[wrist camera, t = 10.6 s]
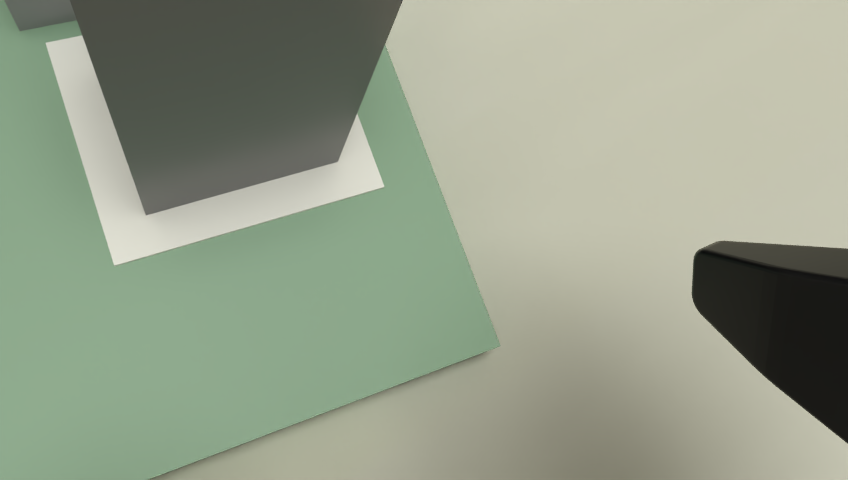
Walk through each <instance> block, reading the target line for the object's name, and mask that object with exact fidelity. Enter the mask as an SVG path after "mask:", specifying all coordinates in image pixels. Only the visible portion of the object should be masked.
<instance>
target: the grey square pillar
mask: <svg viewBox="0 0 848 480" xmlns="http://www.w3.org/2000/svg"><path fill="white" fill-rule="evenodd" d="M402 1H403V0H70V2H71V5H72V8H73V11H74V14H75V16H76V19H77V22H78V25H79V28H80V31H81V33H82V36H83V39H84V42H85V45H86V47H87V50H88V53H89V56H90V59H91V62H92V64H93V67H94V70H95V73H96V76H97V79H98V81H99V84H100V87H101V90H102V93H103V96H104V98H105V101H106V104H107V107H108V110H109V112H110V115H111V118H112V121H113V124H114V127H115V129H116V132H117V135H118V138H119V141H120V144H121V146H122V149H123V152H124V155H125V158H126V161H127V163H128V166H129V169H130V172H131V175H132V178H133V180H134V183H135V186H136V189H137V192H138V194H139V197H140V200H141V203H142V206H143V209H144V211H145V214H146V215H149V214H153V213H157V212H160V211H164V210H167V209H171V208H174V207H178V206H182V205H185V204H189V203H192V202H196V201H199V200H203V199H207V198H210V197H214V196H217V195H221V194H224V193H228V192H232V191H235V190H239V189H242V188H246V187H250V186H253V185H257V184H260V183H264V182H267V181H271V180H275V179H278V178H282V177H285V176H289V175H292V174H296V173H300V172H303V171H307V170H310V169H314V168H317V167H321V166H325V165H328V164H332V163H335V162H338V160H339V157H340V155H341V153H342V150H343V148H344V145H345V143H346V140H347V138H348V135H349V133H350V130H351V128H352V125H353V123H354V120H355V118H356V115H357V113H358V110H359V108H360V105H361V103H362V100H363V98H364V95H365V93H366V90H367V88H368V85H369V83H370V80H371V78H372V75H373V73H374V70H375V68H376V65H377V63H378V60H379V58H380V55H381V53H382V50H383V48H384V45H385V43H386V40H387V38H388V35H389V33H390V30H391V28H392V25H393V23H394V20H395V18H396V16H397V13H398V11H399V8H400V6H401V3H402Z"/></svg>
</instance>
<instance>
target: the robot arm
mask: <svg viewBox="0 0 848 480" xmlns="http://www.w3.org/2000/svg"><path fill="white" fill-rule="evenodd" d="M692 298H693V302H694V304H695V306H696V308H697V310H698V311H699V312H700V314H701V315H702V316H703V317H704V318H705V319H706V320H707V321H708V322H709V323H710V324H711V325H712V326H713V327H714V328H715V329H716V330H717V331H718V332H719V333H720V334H721V335H722V336H723V337H724V338H726V339H727V340H728V341H729V342H730V343H731V344H732V345H733V346H734V347H735V348H736V349H737V350H738V351H739V352H740V353H741V354H742V355H743V356H744V357H745V358H746V359H747V360H748V361H749V362H750V363H751V364H752V365H753V366H754V367H755V368H756V369H757V370H758V371H759V372H760V373H761V374H762V375H764V376H765V377H766V378H767V379H768V380H769V381H770V382H772V383H773V384H774V385H775V386H776V387H778V388H779V389H780V390H781V391H783V392H784V393H785V394H786V395H788V396H789V397H790V398H791V399H793V400H794V401H795V402H796V403H798V404H799V405H800V406H801V407H803V408H804V409H805V410H806V411H808V412H809V413H810V414H811V415H813V416H814V417H815V418H816V419H818V420H819V421H820V422H821V423H823V424H824V425H825V426H826V427H828V428H829V429H830V430H831V431H833V432H834V433H835V434H836V435H838V436H839V437H840V438H841V439H843V440H844V441H845V442H846V443H848V249H844V248H828V247H812V246H796V245H781V244H765V243H749V242H733V241H718V242H715V243H713V244H711V245H708V246H706V247H704V248H701V249H699V250H698V251H697V252H696V254H695V256H694V261H693V280H692Z"/></svg>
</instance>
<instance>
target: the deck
mask: <svg viewBox="0 0 848 480" xmlns="http://www.w3.org/2000/svg"><path fill="white" fill-rule="evenodd" d="M499 346H500V343H499V341H498V338H497V336H496V333H495V330H494V328H493V325H492V323H491V320H490V317H489V315H488V312H487V310H486V307H485V304H484V302H483V299H482V296H481V294H480V291H479V289H478V286H477V283H476V281H475V278H474V276H473V273H472V270H471V268H470V265H469V263H468V260H467V257H466V255H465V252H464V249H463V247H462V244H461V242H460V239H459V236H458V234H457V231H456V229H455V226H454V223H453V221H452V218H451V215H450V213H449V210H448V208H447V205H446V202H445V200H444V197H443V195H442V192H441V189H440V187H439V184H438V182H437V179H436V176H435V174H434V171H433V168H432V166H431V163H430V161H429V158H428V155H427V153H426V150H425V148H424V145H423V142H422V140H421V137H420V135H419V132H418V129H417V127H416V124H415V121H414V119H413V116H412V114H411V111H410V108H409V106H408V103H407V101H406V98H405V95H404V93H403V90H402V88H401V85H400V82H399V80H398V77H397V74H396V72H395V69H394V67H393V64H392V61H391V59H390V56H389V54H388V51H387V48H386V46H385V45H384V48H383V50H382V53H381V55H380V58H379V60H378V63H377V65H376V68H375V70H374V73H373V75H372V78H371V80H370V83H369V85H368V88H367V90H366V93H365V95H364V98H363V100H362V103H361V105H360V108H359V110H358V113H357V115H356V118H355V120H354V123H353V125H352V128H351V130H350V133H349V135H348V138H347V140H346V143H345V145H344V148H343V150H342V153H341V155H340V157H339V160H338V162H335V163H332V164H328V165H325V166H321V167H317V168H314V169H310V170H307V171H303V172H300V173H296V174H292V175H289V176H285V177H282V178H278V179H275V180H271V181H267V182H264V183H260V184H257V185H253V186H250V187H246V188H242V189H239V190H235V191H232V192H228V193H224V194H221V195H217V196H214V197H210V198H207V199H203V200H199V201H196V202H192V203H189V204H185V205H182V206H178V207H174V208H171V209H167V210H164V211H160V212H157V213H153V214H149V215H146V214H145V211H144V209H143V206H142V203H141V200H140V197H139V194H138V192H137V189H136V186H135V183H134V180H133V178H132V175H131V172H130V169H129V166H128V163H127V161H126V158H125V155H124V152H123V149H122V146H121V144H120V141H119V138H118V135H117V132H116V129H115V127H114V124H113V121H112V118H111V115H110V112H109V110H108V107H107V104H106V101H105V98H104V96H103V93H102V90H101V87H100V84H99V81H98V79H97V76H96V73H95V70H94V67H93V64H92V62H91V59H90V56H89V53H88V50H87V47H86V45H85V42H84V39H83V36H82V33H81V31H80V28H79V25H78V22H77V19H76V16H75V14H74V11H73V8H72V5H71V2H70V0H0V480H148V479H151V478H154V477H156V476H159V475H162V474H164V473H167V472H170V471H172V470H175V469H177V468H180V467H183V466H185V465H188V464H191V463H193V462H196V461H199V460H201V459H204V458H206V457H209V456H212V455H214V454H217V453H220V452H222V451H225V450H228V449H230V448H233V447H235V446H238V445H241V444H243V443H246V442H249V441H251V440H254V439H257V438H259V437H262V436H265V435H267V434H270V433H272V432H275V431H278V430H280V429H283V428H286V427H288V426H291V425H294V424H296V423H299V422H301V421H304V420H307V419H309V418H312V417H315V416H317V415H320V414H323V413H325V412H328V411H330V410H333V409H336V408H338V407H341V406H344V405H346V404H349V403H352V402H354V401H357V400H360V399H362V398H365V397H367V396H370V395H373V394H375V393H378V392H381V391H383V390H386V389H389V388H391V387H394V386H396V385H399V384H402V383H404V382H407V381H410V380H412V379H415V378H418V377H420V376H423V375H425V374H428V373H431V372H433V371H436V370H439V369H441V368H444V367H447V366H449V365H452V364H454V363H457V362H460V361H462V360H465V359H468V358H470V357H473V356H476V355H478V354H481V353H484V352H486V351H489V350H491V349H494V348H497V347H499Z"/></svg>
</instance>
